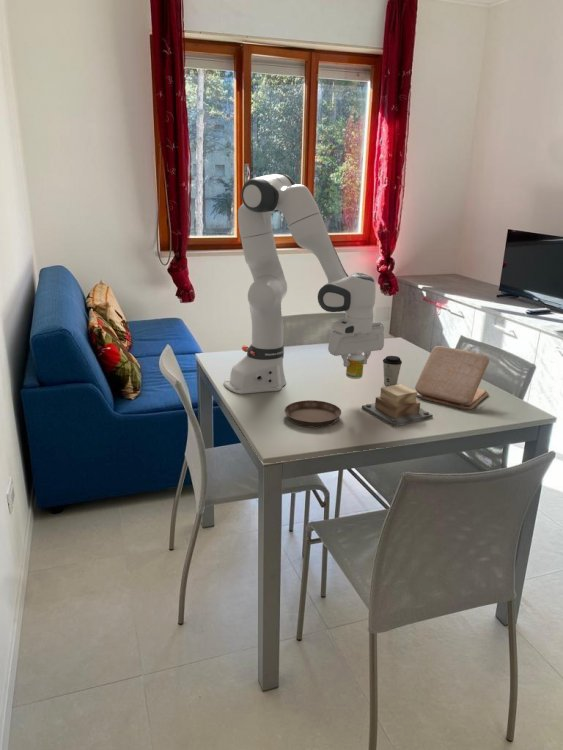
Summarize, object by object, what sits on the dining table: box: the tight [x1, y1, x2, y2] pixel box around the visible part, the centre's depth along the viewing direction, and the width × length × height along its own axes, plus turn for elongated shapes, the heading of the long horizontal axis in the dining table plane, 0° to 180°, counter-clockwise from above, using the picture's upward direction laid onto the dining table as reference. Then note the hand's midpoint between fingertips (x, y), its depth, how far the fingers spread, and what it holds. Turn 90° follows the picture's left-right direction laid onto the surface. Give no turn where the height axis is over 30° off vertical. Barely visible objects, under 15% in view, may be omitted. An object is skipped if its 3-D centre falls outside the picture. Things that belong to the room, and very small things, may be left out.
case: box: [414, 345, 490, 410], centre depth 203 cm, size 20×21×16 cm
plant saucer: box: [284, 399, 342, 428], centre depth 183 cm, size 18×18×3 cm
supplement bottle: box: [345, 350, 365, 380], centre depth 193 cm, size 5×5×10 cm
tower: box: [361, 383, 434, 427], centre depth 188 cm, size 16×16×8 cm
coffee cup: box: [382, 355, 403, 386], centre depth 214 cm, size 7×7×10 cm
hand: (355, 365), depth 193 cm, fingers closed on supplement bottle, 5 cm apart
